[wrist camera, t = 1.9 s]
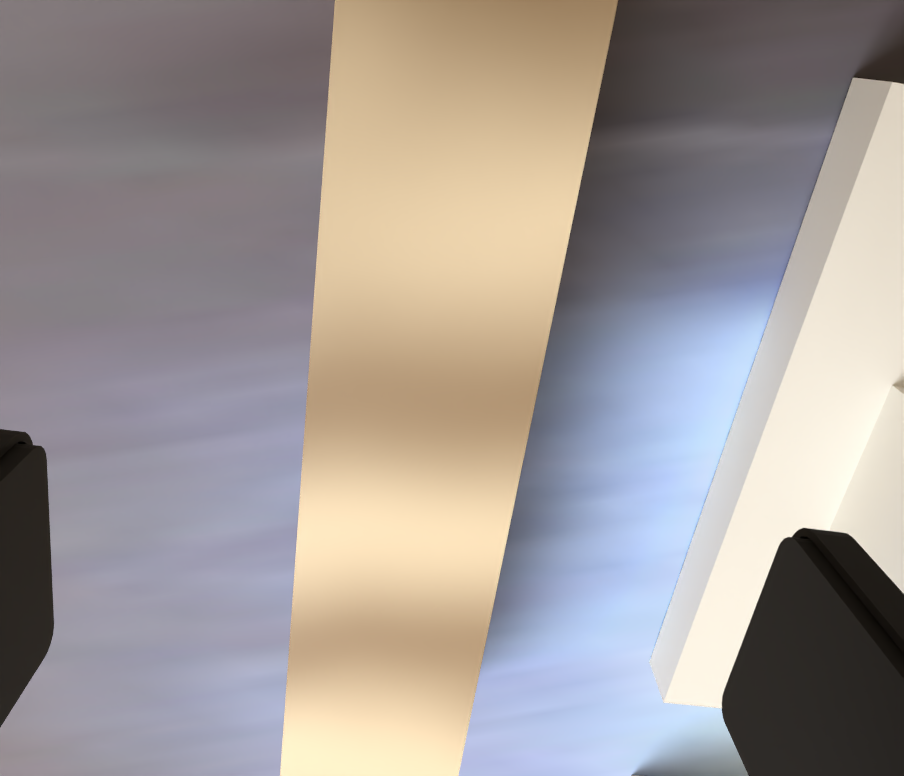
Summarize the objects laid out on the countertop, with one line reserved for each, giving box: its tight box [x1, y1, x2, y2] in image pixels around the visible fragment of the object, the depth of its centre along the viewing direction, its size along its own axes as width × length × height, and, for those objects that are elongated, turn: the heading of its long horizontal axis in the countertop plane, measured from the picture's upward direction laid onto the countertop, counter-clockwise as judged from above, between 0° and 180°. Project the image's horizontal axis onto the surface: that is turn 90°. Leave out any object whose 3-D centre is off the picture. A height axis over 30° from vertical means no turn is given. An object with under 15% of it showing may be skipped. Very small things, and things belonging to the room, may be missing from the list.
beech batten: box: [280, 0, 618, 776], centre depth 16 cm, size 24×4×5 cm, turn 172°
